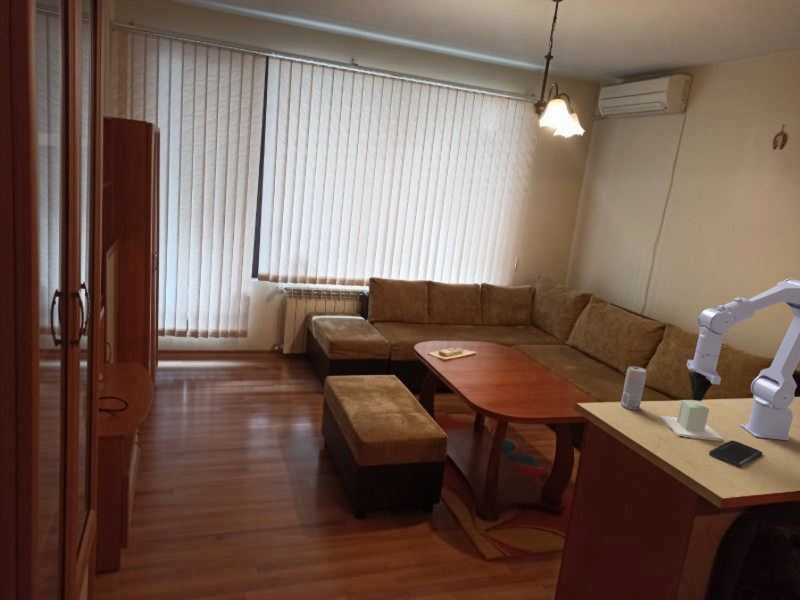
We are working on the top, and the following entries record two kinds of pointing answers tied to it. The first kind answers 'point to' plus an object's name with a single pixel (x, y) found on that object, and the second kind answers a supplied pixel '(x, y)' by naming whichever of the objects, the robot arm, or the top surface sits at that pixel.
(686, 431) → the post board
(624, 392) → the energy drink
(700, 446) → the top surface
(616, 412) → the top surface
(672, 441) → the top surface
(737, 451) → the phone
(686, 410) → the pale green slotted block
